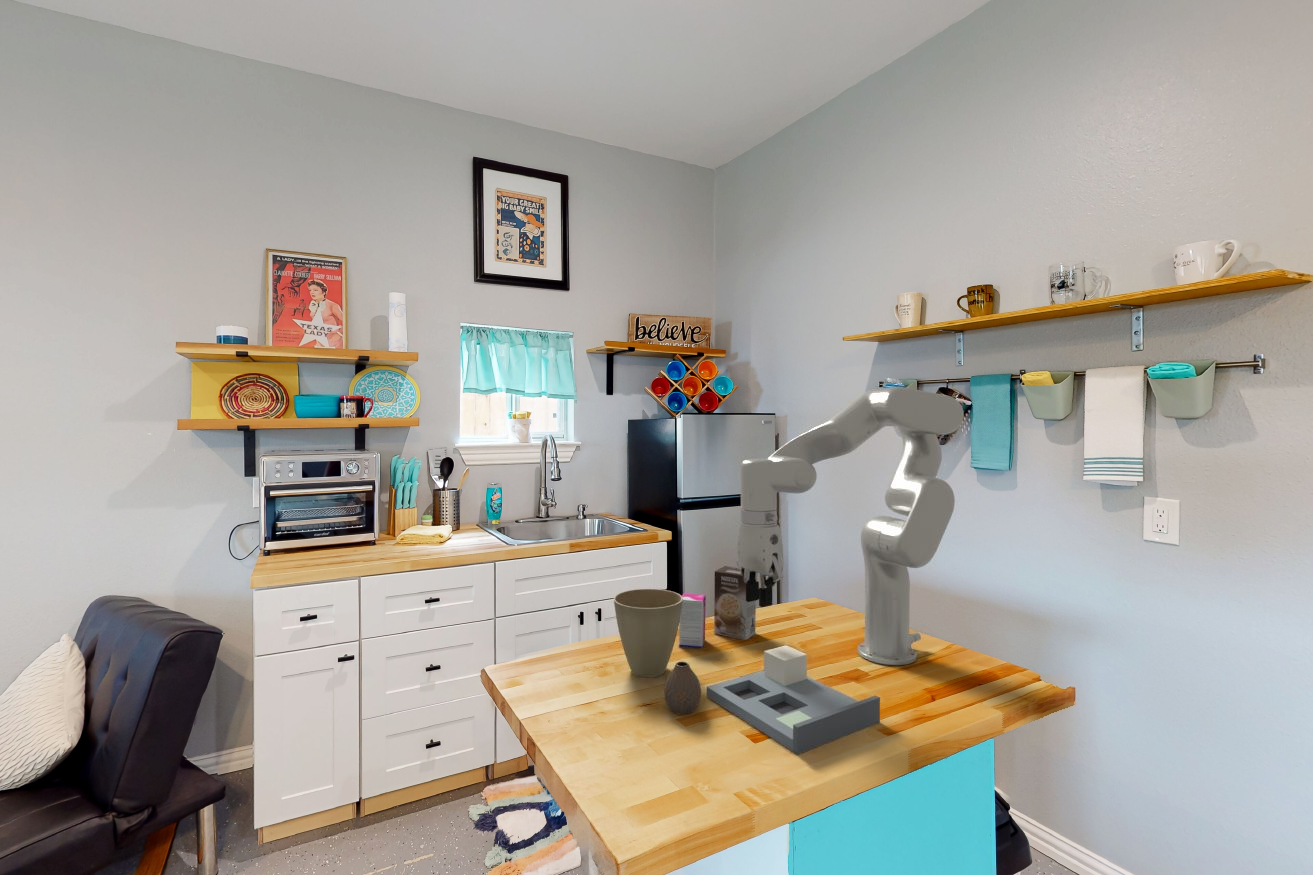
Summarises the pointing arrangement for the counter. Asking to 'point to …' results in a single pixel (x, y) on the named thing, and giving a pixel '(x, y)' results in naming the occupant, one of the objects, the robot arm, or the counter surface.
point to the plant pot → (648, 628)
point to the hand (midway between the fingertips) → (758, 602)
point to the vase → (682, 689)
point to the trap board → (795, 709)
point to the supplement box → (692, 621)
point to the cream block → (785, 665)
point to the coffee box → (733, 605)
